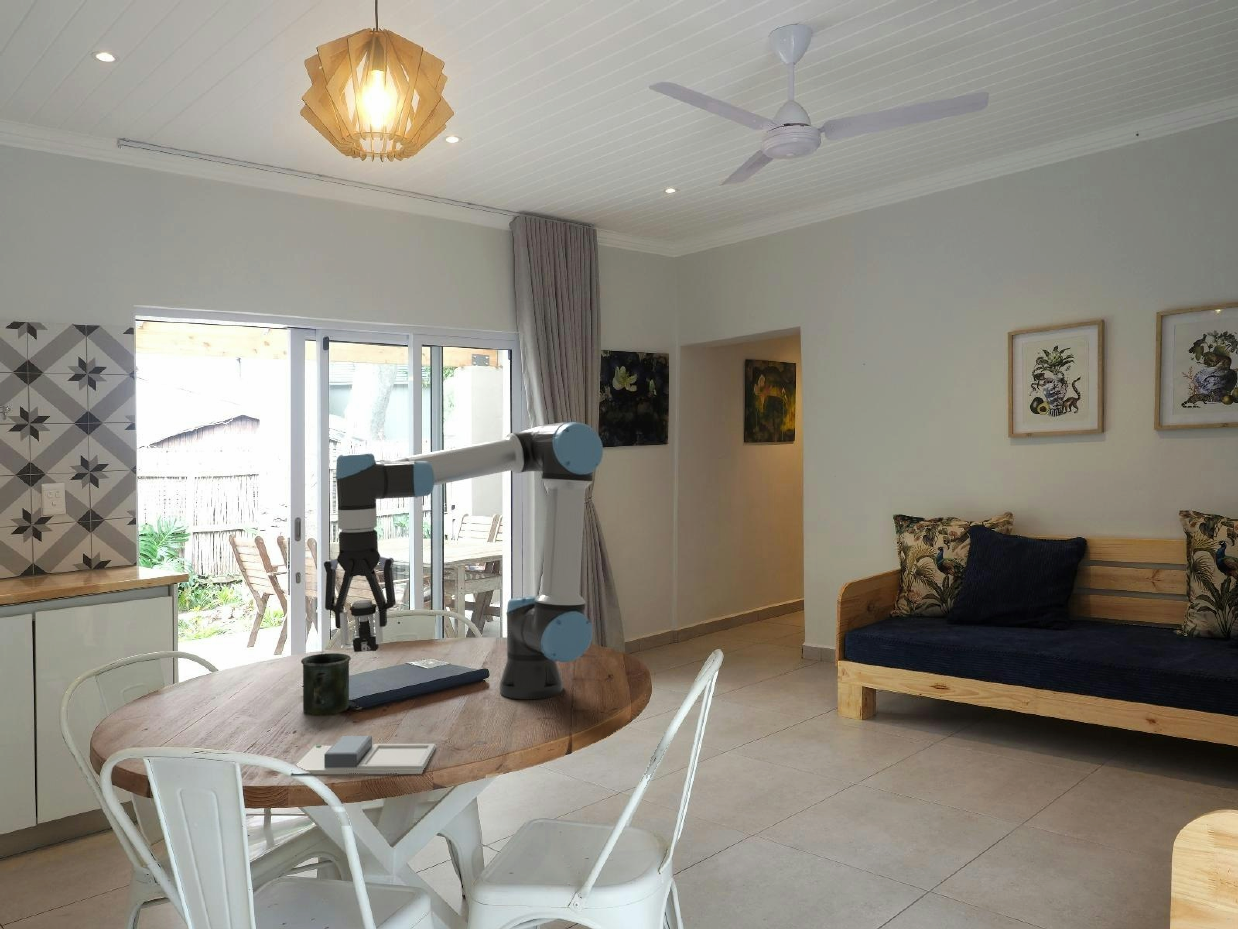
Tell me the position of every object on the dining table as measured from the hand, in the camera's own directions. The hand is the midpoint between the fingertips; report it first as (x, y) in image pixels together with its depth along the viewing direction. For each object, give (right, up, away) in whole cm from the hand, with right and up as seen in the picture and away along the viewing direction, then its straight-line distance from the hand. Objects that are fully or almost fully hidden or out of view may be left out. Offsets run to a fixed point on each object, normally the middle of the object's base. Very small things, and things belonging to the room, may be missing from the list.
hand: (362, 643), depth 185 cm
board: (+4, -21, -10) cm, 23 cm away
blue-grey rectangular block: (0, -20, -10) cm, 22 cm away
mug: (-15, -20, +22) cm, 34 cm away
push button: (0, -2, 0) cm, 2 cm away
